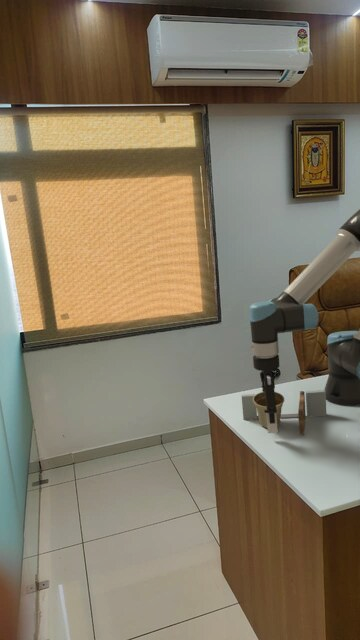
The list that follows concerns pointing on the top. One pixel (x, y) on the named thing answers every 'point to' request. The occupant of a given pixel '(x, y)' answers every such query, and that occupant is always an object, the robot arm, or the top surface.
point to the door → (302, 413)
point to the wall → (313, 407)
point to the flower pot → (261, 406)
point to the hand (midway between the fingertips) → (270, 422)
